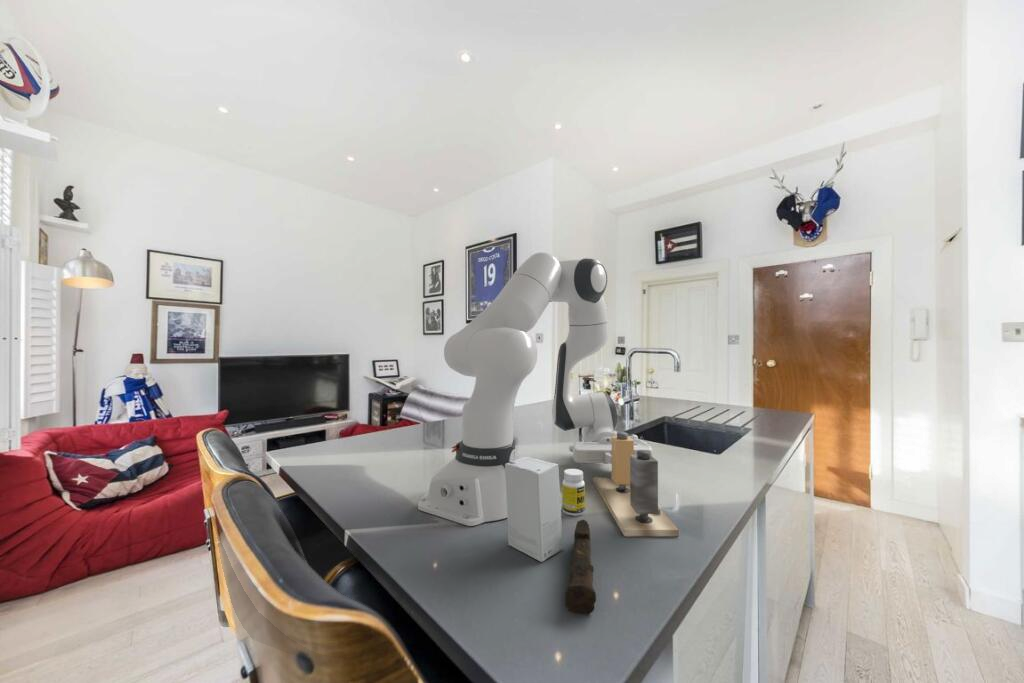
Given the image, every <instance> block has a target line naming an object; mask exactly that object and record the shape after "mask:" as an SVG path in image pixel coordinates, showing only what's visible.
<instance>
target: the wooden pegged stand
mask: <svg viewBox="0 0 1024 683" xmlns="http://www.w3.org/2000/svg"><path fill="white" fill-rule="evenodd" d="M658 464H659V461H658V460H657V459H656V458H654V456H653V457H652V456H651V455H650V452H649V451H646V450H638V451H637V455H630V484H626V490H621V489H619V485H616V483H615V482H614V481H613V479H612V477H593V484H594V486H595V487H596V489H597V491H598V492H599V494H600V497H602V499H603V501H604V503H605V505H606V507H607V508H608V510H609V512H610V515H611V516H612V517H613V519H614V521H615V522H616V525H617V526H618V528H619V529H620V531H621V533H622V535H623V536H624V537H679V536H680V535H679V529H678V527H677V526H676V525H675V524H674V522H672V520H671V519H670V518H669V517H668V516H667V515H666V514H665V512H664V511H663V510H662V509H661V508H660V507H659V465H658Z"/></svg>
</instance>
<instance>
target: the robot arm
mask: <svg viewBox="0 0 1024 683" xmlns="http://www.w3.org/2000/svg"><path fill="white" fill-rule="evenodd" d="M607 284H608V274H607V270H606V267H605V266H604V265H603V263H601V261H599V260H598V259H595V258H586V257H585V258H582V259H569V260H566V259H565V260H558V259H557V258H556V257H555V256H554V255H552V254H549V253H548V252H536V253H533V254H532V255H530V257H528V258H527V259H526V260H525V261H524V262H522V263H521V265H520V266H519V267H518V268H517V269H516V270H515V272H514V273H513V274H512V276H511V277H510V278H509V279H508V281H507V283H506V284H505V285H504V287H503V288H502V289H501V290H500V292H499V293H498V294H497V295H496V297H495V298H494V299H493V300H492V302H491V303H490V304H489V305H488V306H486V308H485V309H483V310H482V311H481V312H480V313H479V314H478V315H477V316H475V318H473V319H472V320H471V321H470V322H469V323H468V324H467V325H466V326H465V327H463V328H462V329H460V330H459V331H458V332H456V333H454V334H452V335H451V336H450V337H449V338H448V339H447V340H446V342H445V344H444V348H443V358H444V360H445V363H446V365H447V366H448V367H449V368H450V369H451V370H453V371H455V372H456V373H458V374H461V375H463V376H466V377H470V378H471V377H475V381H474V382H475V384H474V386H473V387H474V388H473V391H472V392H471V393H472V394H471V396H470V397H469V399H467V401H466V402H464V404H463V407H462V418H461V419H462V439H461V441H459V442H457V443H456V444H455V445H454V446H452V447H451V449H452V450H451V453H455V455H454V456H455V457H454V458H453V459H451V460H450V461H449V462H447V464H445V465H444V466H443V467H441V468H440V469H439V470H438V471H436V473H434V475H433V476H432V478H431V480H430V483H429V487H428V491H427V492H426V493H425V494H423V495H422V497H421V498H419V500H418V502H417V510H419V511H421V512H425V513H427V514H430V515H431V514H432V515H433V516H436V517H440V518H443V519H446V520H449V521H451V522H455V523H458V524H461V525H464V526H468V527H473V526H478V525H480V524H484V523H486V522H488V523H489V522H494V521H499V520H505V519H506V518H507V498H506V475H505V464H506V463H509V462H511V461H514V460H517V457H516V456H517V454H516V452H517V451H516V441H515V440H514V408H515V402H516V399H517V395H518V392H519V389H520V387H521V384H522V383H523V381H524V380H525V379H526V378H527V377H528V376H529V375H530V374H531V373H532V372H533V371H534V368H535V367H536V365H537V359H538V348H537V345H536V342H535V340H534V338H533V337H532V336H531V335H530V334H529V333H528V332H529V331H531V330H532V329H533V328H534V327H535V326H536V324H537V323H538V321H539V320H540V318H541V316H542V315H543V313H544V312H545V310H546V309H547V307H548V305H549V303H553V302H557V303H567V305H568V310H567V311H568V312H567V313H568V334H567V337H566V340H565V341H564V342H563V343H561V344H560V346H559V349H558V353H557V354H558V355H557V362H556V373H555V374H556V375H555V384H554V385H555V387H554V397H553V404H552V405H551V406H552V407H551V408H552V409H551V416H552V417H551V418H552V421H553V423H554V424H553V425H556V426H557V427H558V428H559V429H561V430H562V431H565V432H566V431H571V430H575V429H581V428H582V429H581V437H582V440H583V441H576V442H573V444H572V445H569V447H568V449H569V452H571V453H572V460H573V462H574V463H577V464H607V465H608V464H610V465H612V437H611V436H617V432H618V431H616V430H615V429H616V427H617V425H618V410H617V407H616V404H615V402H614V400H613V399H612V397H611V396H610V395H608V394H607V393H606V392H605V391H599V392H590V393H584V394H583V393H582V394H575V395H573V394H570V388H571V376H572V370H573V368H575V366H576V365H577V364H578V363H579V362H581V361H582V360H585V359H586V358H588V357H591V356H592V355H594V354H596V353H597V352H599V351H600V350H601V349H602V348H603V347H604V346H605V344H606V343H607V341H608V339H609V321H608V319H609V317H608V312H607V311H608V310H607V306H606V300H605V296H604V293H605V291H606V289H607ZM628 436H629V437H630V438H631V439H632V440H633V441H634V455H637V451H638V450H646V451H649V452H650V455H651V456H652V457H653V458H654V450H653V447H652V446H651V445H649V443H647V442H645V441H644V440H642V439H639V437H638V435H636V434H634V433H633V434H632V433H628Z"/></svg>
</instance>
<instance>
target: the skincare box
mask: <svg viewBox="0 0 1024 683" xmlns="http://www.w3.org/2000/svg"><path fill="white" fill-rule="evenodd" d="M559 468H560V466H559V464H558V463H554V462H549V461H546V460H542V459H538V458H533V457H530V456H522V457H519V458H516V460H514V461H511V462H509V463H506V464H505V475H506V498H507V537H508V540H507V541H508V546H510V547H512V548H514V549H516V550H518V551H520V552H522V553H524V554H526V555H528V556H529V557H531V558H533V559H534V560H536V561H539V562H540V563H542V562H545V561H546V560H548V558H550V557H552V556H555V555H556V554H557V553H559V552H561V551H562V550H563V531H562V530H563V528H562V509H561V508H562V506H561V492H560V491H561V490H560V476H559V475H560V473H559V470H560V469H559Z"/></svg>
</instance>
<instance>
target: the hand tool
mask: <svg viewBox="0 0 1024 683" xmlns="http://www.w3.org/2000/svg"><path fill="white" fill-rule="evenodd" d="M573 537H574V538H573V539H574V541H573V550H572V558H571V568H570V576H569V585H567V588H566V590H565V596H564V598H565V603H564V605H565V607H566V608H567V609H568V610H569V612H571V613H577V614H582V615H586V614H587V615H588V614H591V613H593V611H595V603H596V602H597V594H596V592H595V589H594V586H593V582H594V572H595V571H594V570H595V569H594V566H593V565H592V557H591V554H592V553H591V552H592V551H591V548H592V547H591V529H590V525H589V523H588V521H587V520H585V519H581V520H577V522H576V525H575V530H574V536H573Z"/></svg>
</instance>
